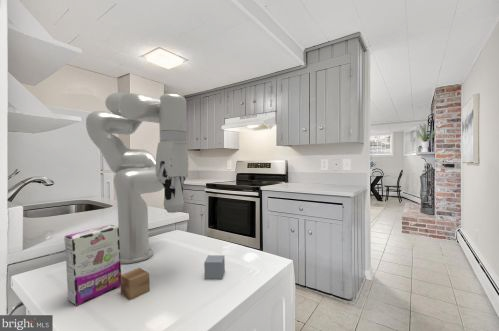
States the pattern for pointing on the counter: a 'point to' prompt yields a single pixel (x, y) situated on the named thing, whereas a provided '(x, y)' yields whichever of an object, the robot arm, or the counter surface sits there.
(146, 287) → the walnut block
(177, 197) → the salt shaker
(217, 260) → the slate-grey block
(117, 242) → the candy bar box
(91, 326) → the counter surface
